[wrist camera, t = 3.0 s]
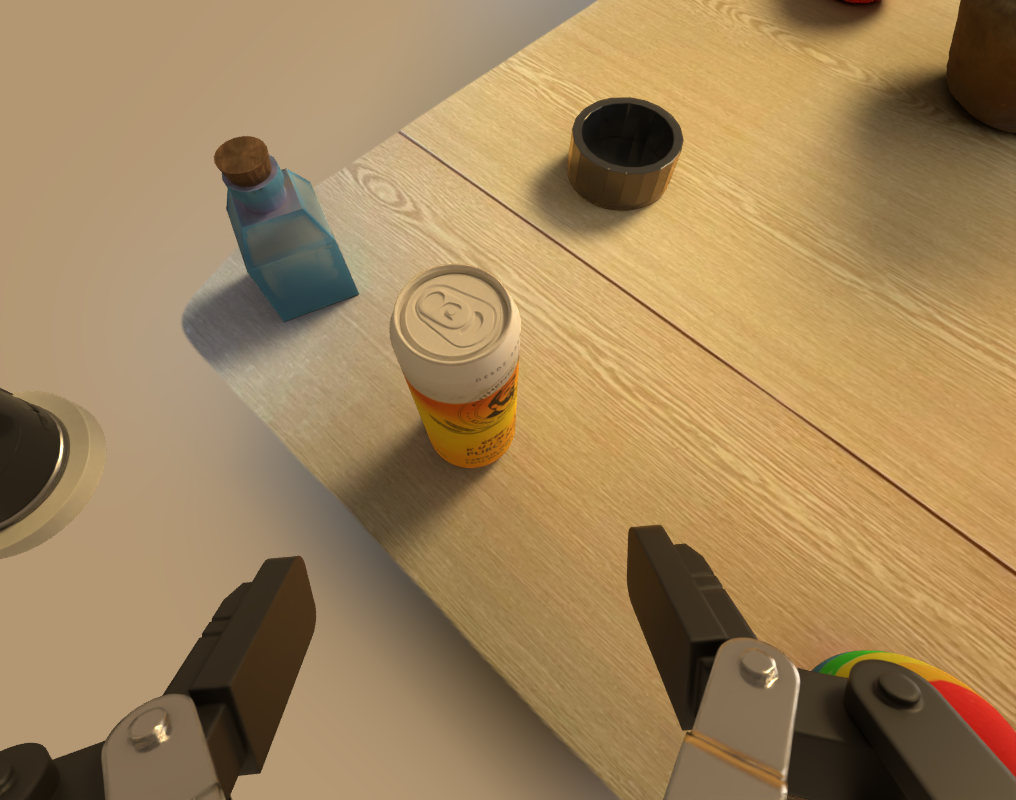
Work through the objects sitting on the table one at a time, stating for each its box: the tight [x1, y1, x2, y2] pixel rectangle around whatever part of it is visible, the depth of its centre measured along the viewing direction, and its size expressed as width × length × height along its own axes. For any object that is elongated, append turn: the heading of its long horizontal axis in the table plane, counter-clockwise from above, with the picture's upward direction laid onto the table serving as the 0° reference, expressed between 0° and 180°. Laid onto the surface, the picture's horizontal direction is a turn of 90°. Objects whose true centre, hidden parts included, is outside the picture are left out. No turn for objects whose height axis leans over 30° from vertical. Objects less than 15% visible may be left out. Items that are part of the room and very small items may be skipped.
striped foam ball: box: [812, 651, 1016, 777], centre depth 24 cm, size 8×8×10 cm
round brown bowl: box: [567, 97, 683, 210], centre depth 45 cm, size 9×9×4 cm
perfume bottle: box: [214, 136, 359, 322], centre depth 36 cm, size 6×6×12 cm
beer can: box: [390, 264, 521, 468], centre depth 29 cm, size 6×6×15 cm
